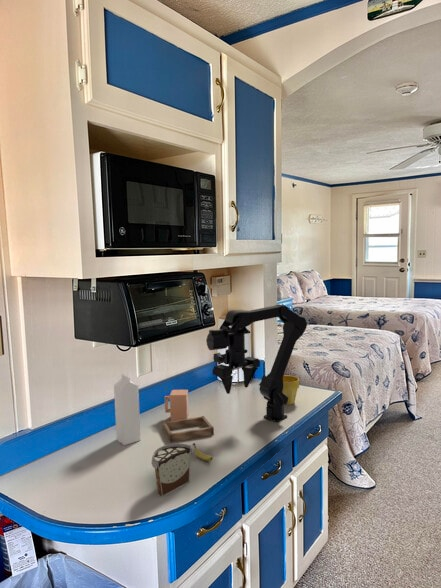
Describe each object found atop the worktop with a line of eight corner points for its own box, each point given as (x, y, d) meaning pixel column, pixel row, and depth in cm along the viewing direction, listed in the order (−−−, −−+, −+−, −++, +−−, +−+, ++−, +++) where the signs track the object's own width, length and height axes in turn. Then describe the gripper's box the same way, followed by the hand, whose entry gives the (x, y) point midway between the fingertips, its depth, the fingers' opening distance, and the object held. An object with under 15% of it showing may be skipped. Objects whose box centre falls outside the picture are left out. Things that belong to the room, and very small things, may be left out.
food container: (178, 472, 124) (177, 438, 123) (193, 480, 120) (192, 445, 119) (143, 490, 115) (141, 454, 114) (157, 499, 111) (156, 461, 110)
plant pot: (287, 395, 185) (287, 373, 184) (304, 402, 176) (304, 379, 175) (268, 400, 180) (268, 377, 179) (284, 408, 171) (284, 384, 170)
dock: (204, 422, 159) (203, 416, 158) (213, 434, 148) (213, 427, 148) (162, 429, 154) (162, 422, 153) (169, 442, 143) (169, 434, 143)
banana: (191, 456, 134) (191, 443, 133) (195, 454, 135) (195, 441, 134) (210, 465, 128) (210, 452, 128) (214, 462, 129) (214, 449, 129)
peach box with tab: (188, 415, 166) (187, 389, 165) (187, 421, 160) (186, 395, 159) (167, 415, 166) (166, 389, 165) (164, 421, 160) (163, 395, 159)
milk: (124, 445, 142) (120, 379, 139) (116, 439, 146) (112, 375, 144) (141, 440, 145) (138, 375, 143) (133, 434, 150) (129, 371, 147)
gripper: (238, 339, 164) (238, 379, 166) (201, 348, 151) (202, 391, 153) (260, 343, 156) (261, 386, 158) (223, 353, 143) (224, 399, 145)
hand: (237, 390), depth 154 cm, fingers open, 9 cm apart
